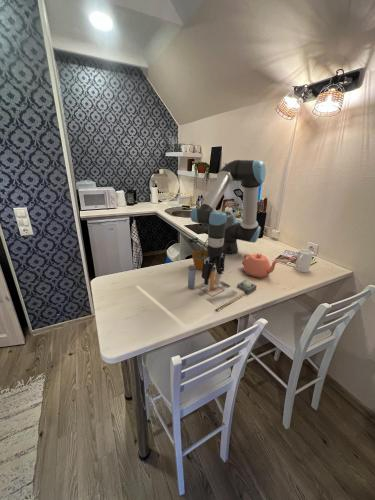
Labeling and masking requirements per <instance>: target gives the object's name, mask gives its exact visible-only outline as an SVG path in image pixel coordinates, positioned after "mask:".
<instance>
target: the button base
mask: <svg viewBox="0 0 375 500" xmlns="http://www.w3.org/2000/svg"><path fill="white" fill-rule="evenodd" d="M244 281H247V280H246V279H245V280H243V281H241V282H239V283H238V284H237V285H236V287H237V288H239V289H240V290H242V291H244V294H247V295H249V294H251V293H253V292H255V291H257V285H256V284H254V283H252V282H251V284H252V285H251V287H250V288H246V287H244V286H243V282H244Z"/></svg>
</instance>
